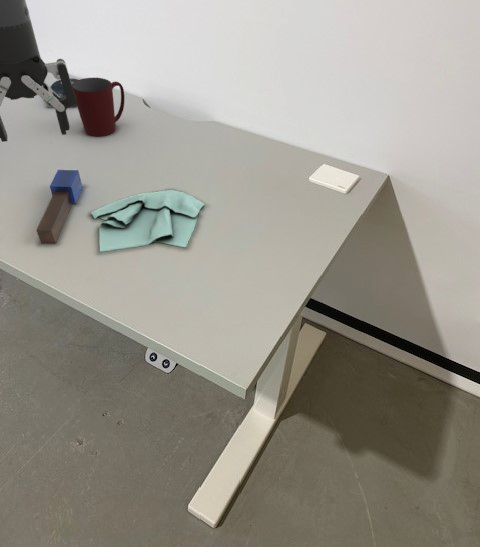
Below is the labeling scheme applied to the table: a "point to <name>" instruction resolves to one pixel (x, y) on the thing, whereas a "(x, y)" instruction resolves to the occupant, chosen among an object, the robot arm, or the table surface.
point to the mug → (97, 105)
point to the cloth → (148, 220)
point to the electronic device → (59, 89)
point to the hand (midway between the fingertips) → (34, 136)
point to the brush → (59, 204)
